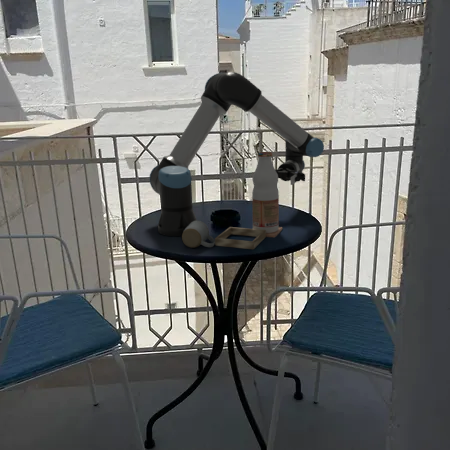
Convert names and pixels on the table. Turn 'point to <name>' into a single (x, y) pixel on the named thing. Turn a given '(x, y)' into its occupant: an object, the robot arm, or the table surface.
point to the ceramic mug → (197, 235)
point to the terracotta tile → (274, 233)
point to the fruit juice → (265, 195)
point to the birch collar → (223, 241)
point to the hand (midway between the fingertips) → (273, 180)
